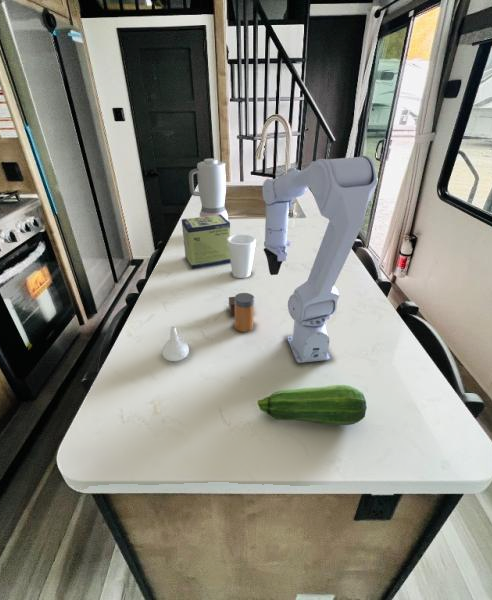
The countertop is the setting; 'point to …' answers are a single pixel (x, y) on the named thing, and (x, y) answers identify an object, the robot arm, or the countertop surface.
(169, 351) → the garlic bulb
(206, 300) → the countertop surface
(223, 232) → the protein box
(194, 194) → the blender
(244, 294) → the orange and grey block
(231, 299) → the prop block
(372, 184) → the robot arm
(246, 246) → the foam cup
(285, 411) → the vegetable
